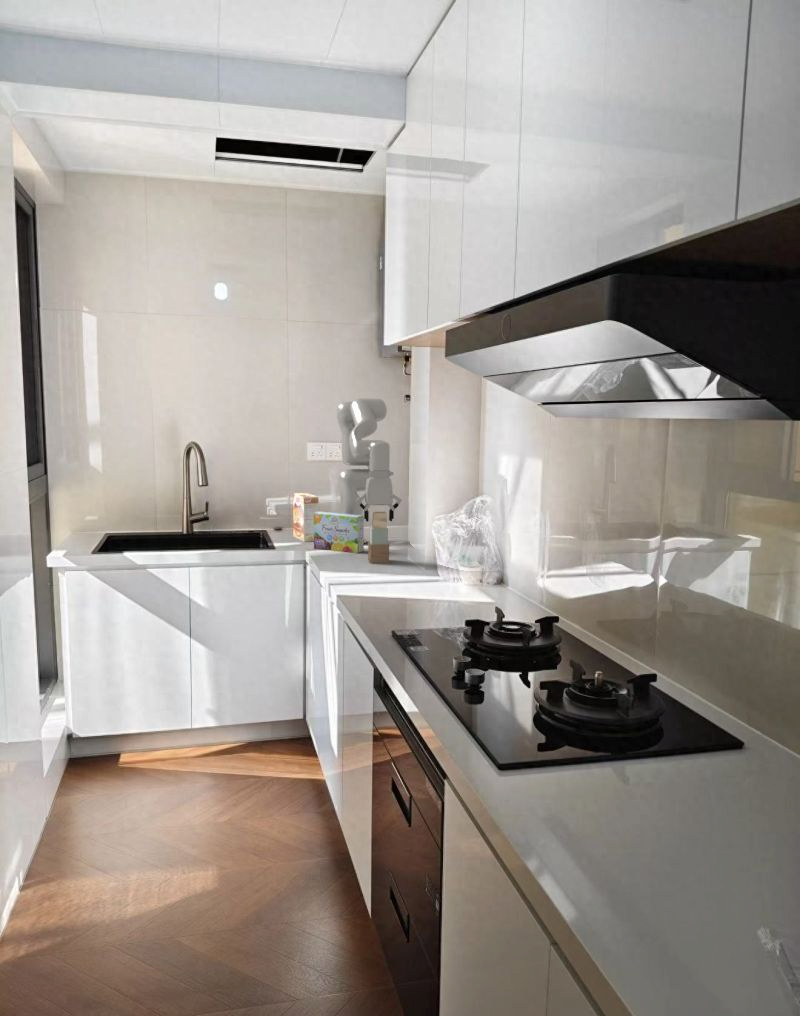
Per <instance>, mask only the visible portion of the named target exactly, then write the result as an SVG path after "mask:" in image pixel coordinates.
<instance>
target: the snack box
mask: <svg viewBox="0 0 800 1016" xmlns="http://www.w3.org/2000/svg"><path fill="white" fill-rule="evenodd" d="M364 523H365V519H364V514H363V515H353V514H342V513H341V512H340V513H339V512H332V511H331V512H328V511H322V510H321V511H318V512H315V513H314V541H313V549H316V550H324V551H325V550H326V551H332V552H342V553H349V554H350V553H351V554H360V553H363V552H364V550H365V549H364V539H365V538H364V537H365V536H364V533H365V530H364V529H365V528H364V527H365V525H364Z"/></svg>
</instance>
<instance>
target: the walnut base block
mask: <svg viewBox="0 0 800 1016" xmlns="http://www.w3.org/2000/svg"><path fill="white" fill-rule="evenodd" d="M367 544H368V545H367V546H368V549H367V552H368V553H367V555H368V556H367V557H368V558H367V560H369V561H370V562H369V561H368V562H369V564H370V563H378V564H390V544H389V543H388V545H371V543H370V541H368V543H367Z"/></svg>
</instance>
